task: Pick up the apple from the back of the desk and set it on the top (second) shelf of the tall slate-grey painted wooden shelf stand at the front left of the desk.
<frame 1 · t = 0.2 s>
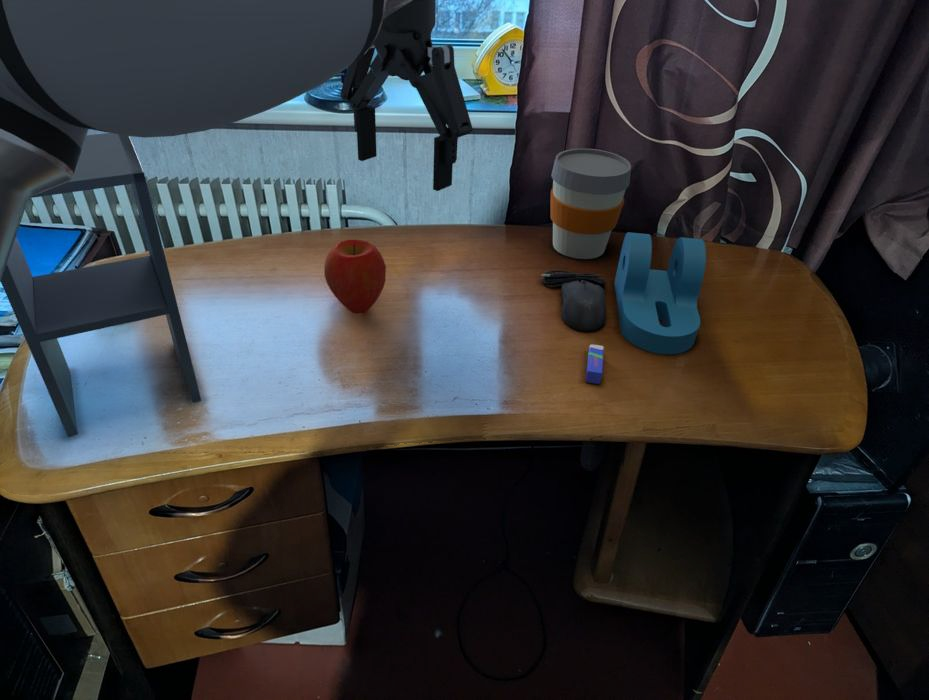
hand: (403, 172, 86), 19 cm above the table, tool pointing down, fingers open, 13 cm apart
bracket: (653, 318, 97), on the table
reusable coffee cup: (578, 247, 114), on the table
computer mouse: (577, 305, 98), on the table
eraser: (593, 371, 86), on the table
apple: (357, 312, 94), on the table
shelf: (130, 387, 79), on the table
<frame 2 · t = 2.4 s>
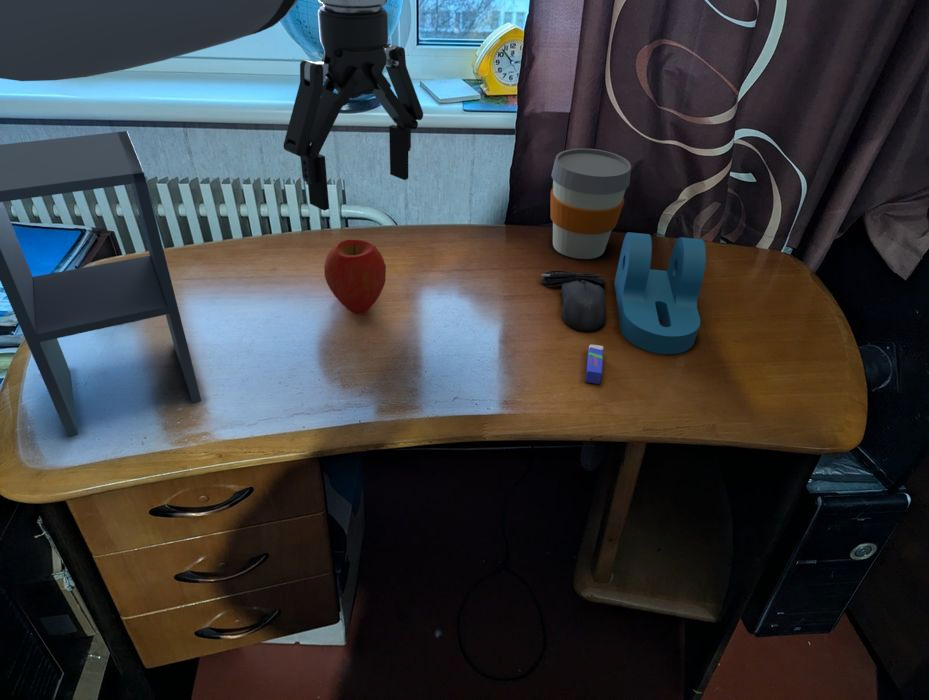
hand: (361, 191, 84), 18 cm above the table, tool pointing down, fingers open, 13 cm apart
nothing on the table moved.
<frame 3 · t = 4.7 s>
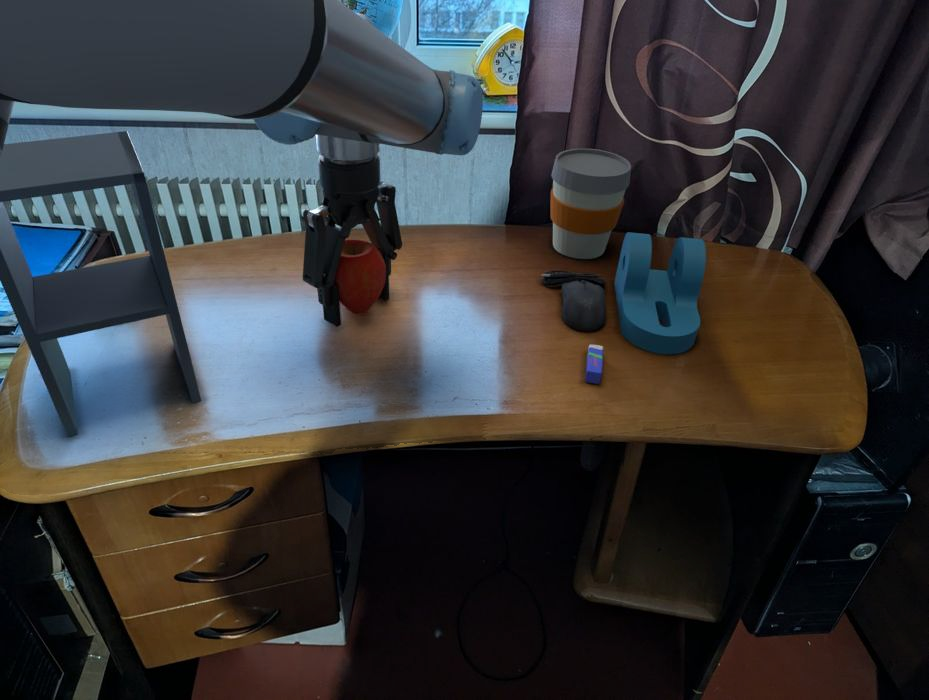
hand: (357, 309, 94), 0 cm above the table, tool pointing down, fingers closed on apple, 8 cm apart
apple: (357, 312, 94), on the table, touching gripper
everything else where it was.
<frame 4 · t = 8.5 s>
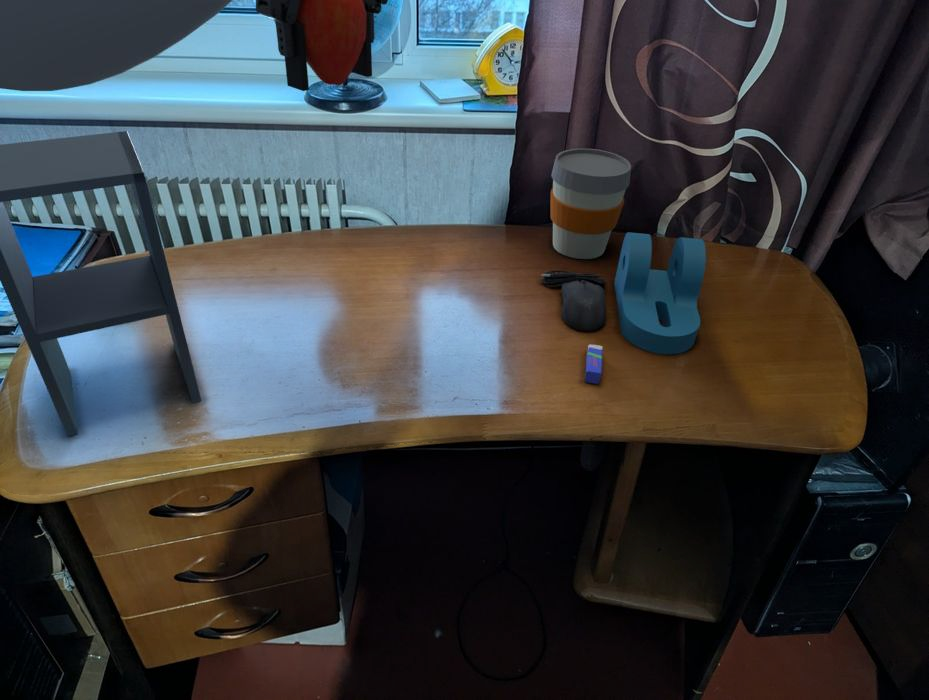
hand: (331, 80, 74), 32 cm above the table, tool pointing down, fingers closed on apple, 8 cm apart
apple: (331, 85, 74), point 31 cm above the table, touching gripper
everything else where it was.
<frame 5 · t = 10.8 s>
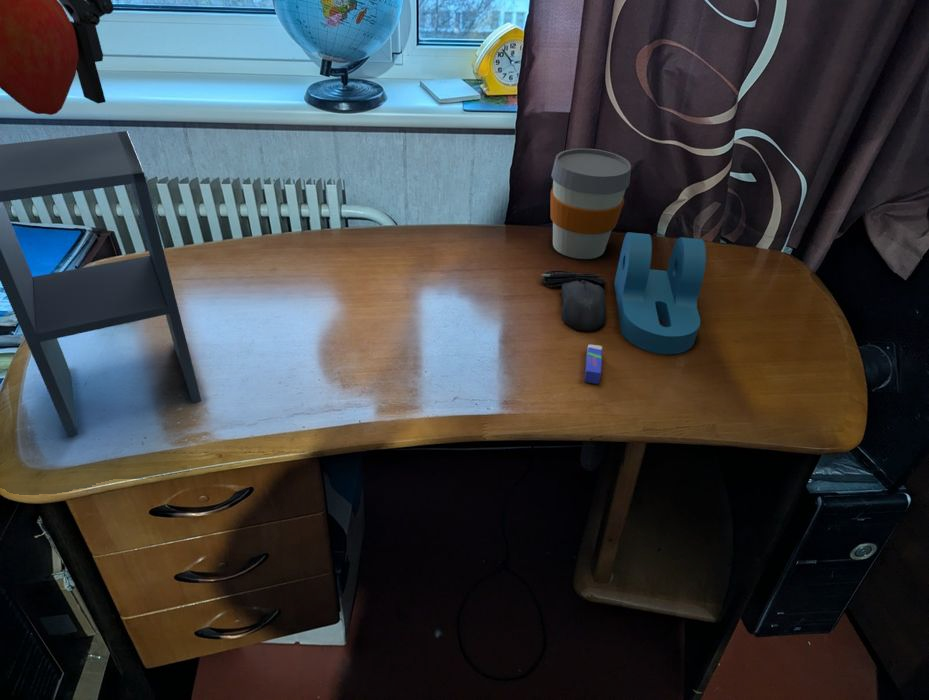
hand: (43, 109, 59), 33 cm above the table, tool pointing down, fingers closed on apple, 8 cm apart
apple: (45, 114, 60), point 32 cm above the table, touching gripper
everything else where it was.
when the fingers open (28 cm above the table, at t = 12.4 s): apple stays where it is, resting on shelf.
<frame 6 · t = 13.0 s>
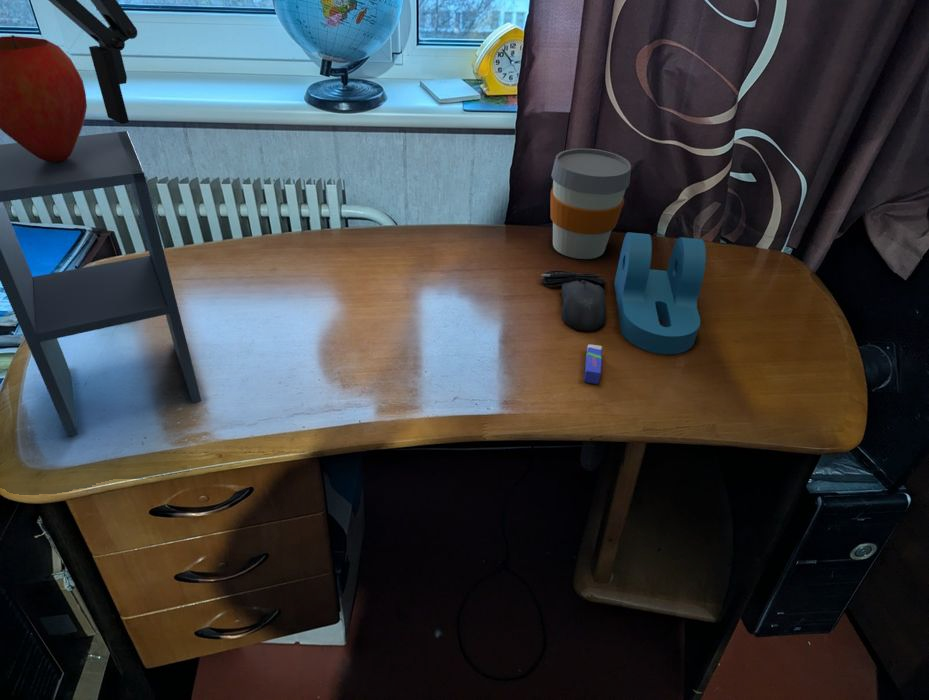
hand: (46, 135, 61), 30 cm above the table, tool pointing down, fingers open, 13 cm apart
apple: (54, 161, 62), point 28 cm above the table, touching shelf
everything else where it was.
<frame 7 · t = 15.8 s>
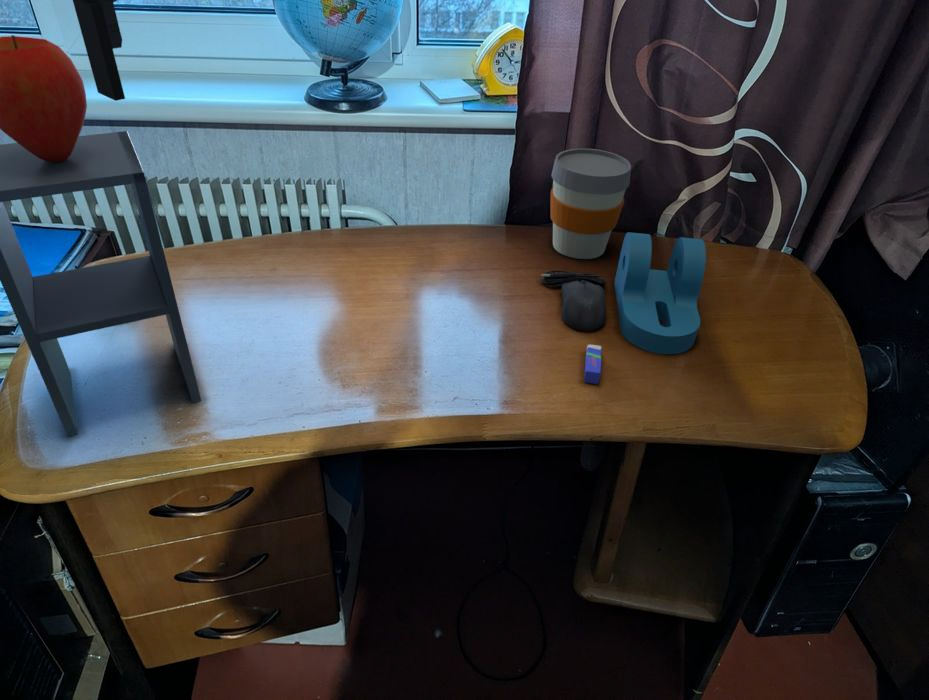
hand: (16, 114, 46), 37 cm above the table, tool pointing down, fingers open, 13 cm apart
nothing on the table moved.
at the end: apple inside the target area on the shelf (0.1 cm from its centre), point 27.8 cm above the shelf's base; the gripper is holding nothing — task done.
